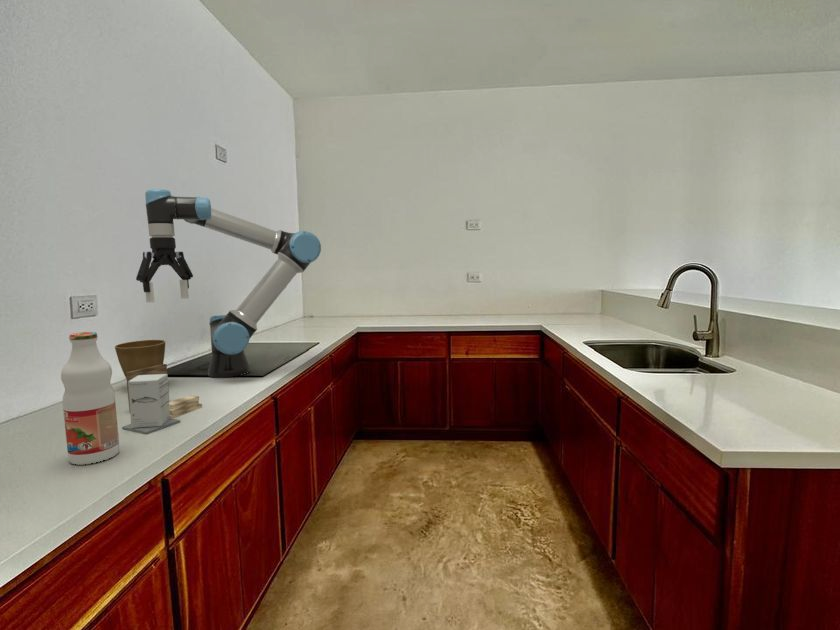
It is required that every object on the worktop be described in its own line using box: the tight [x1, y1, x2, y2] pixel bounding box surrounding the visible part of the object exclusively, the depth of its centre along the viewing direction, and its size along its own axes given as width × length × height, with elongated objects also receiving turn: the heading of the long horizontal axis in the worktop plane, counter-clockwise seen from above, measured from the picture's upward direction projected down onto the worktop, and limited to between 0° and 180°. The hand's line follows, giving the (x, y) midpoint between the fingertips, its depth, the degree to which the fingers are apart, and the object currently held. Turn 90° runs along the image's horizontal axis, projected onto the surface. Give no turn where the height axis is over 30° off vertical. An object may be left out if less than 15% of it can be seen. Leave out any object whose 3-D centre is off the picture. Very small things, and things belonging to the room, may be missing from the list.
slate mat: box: [121, 418, 181, 435], centre depth 122 cm, size 10×10×1 cm
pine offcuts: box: [169, 394, 203, 419], centre depth 133 cm, size 11×4×4 cm, turn 160°
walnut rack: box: [125, 363, 170, 414], centre depth 138 cm, size 12×1×12 cm, turn 156°
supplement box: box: [128, 373, 170, 428], centre depth 122 cm, size 7×7×13 cm
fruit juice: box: [60, 331, 120, 466], centre depth 101 cm, size 9×9×28 cm
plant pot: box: [114, 339, 166, 380], centre depth 158 cm, size 15×15×16 cm
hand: (168, 300), depth 156 cm, fingers open, 13 cm apart
